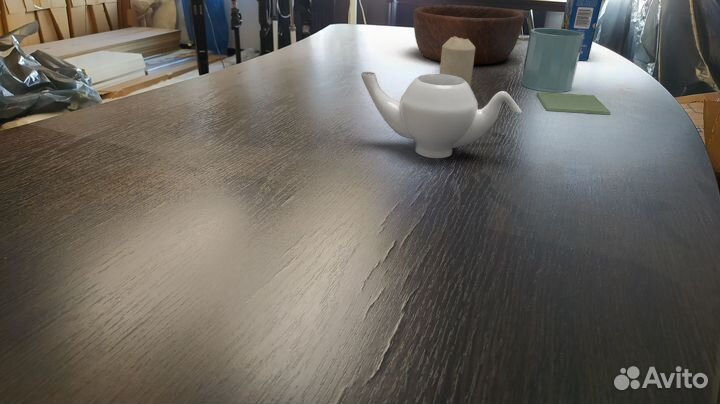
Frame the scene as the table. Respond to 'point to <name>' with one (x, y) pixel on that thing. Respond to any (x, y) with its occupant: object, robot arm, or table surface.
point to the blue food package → (582, 21)
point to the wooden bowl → (468, 30)
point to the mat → (572, 103)
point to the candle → (458, 58)
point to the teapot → (437, 112)
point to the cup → (551, 59)
